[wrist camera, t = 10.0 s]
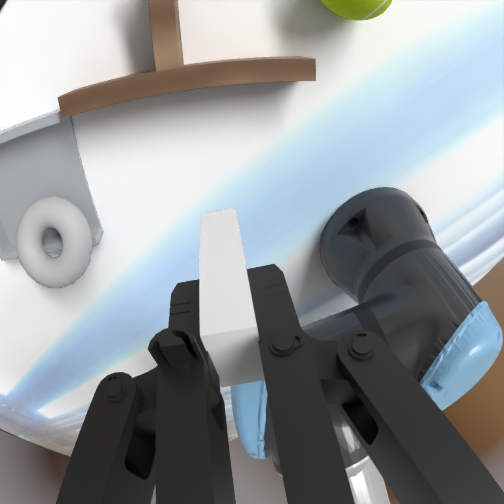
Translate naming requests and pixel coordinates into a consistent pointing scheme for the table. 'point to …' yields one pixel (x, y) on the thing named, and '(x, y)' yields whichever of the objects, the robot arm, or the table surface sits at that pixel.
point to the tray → (41, 177)
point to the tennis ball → (357, 8)
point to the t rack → (182, 69)
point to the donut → (73, 236)
